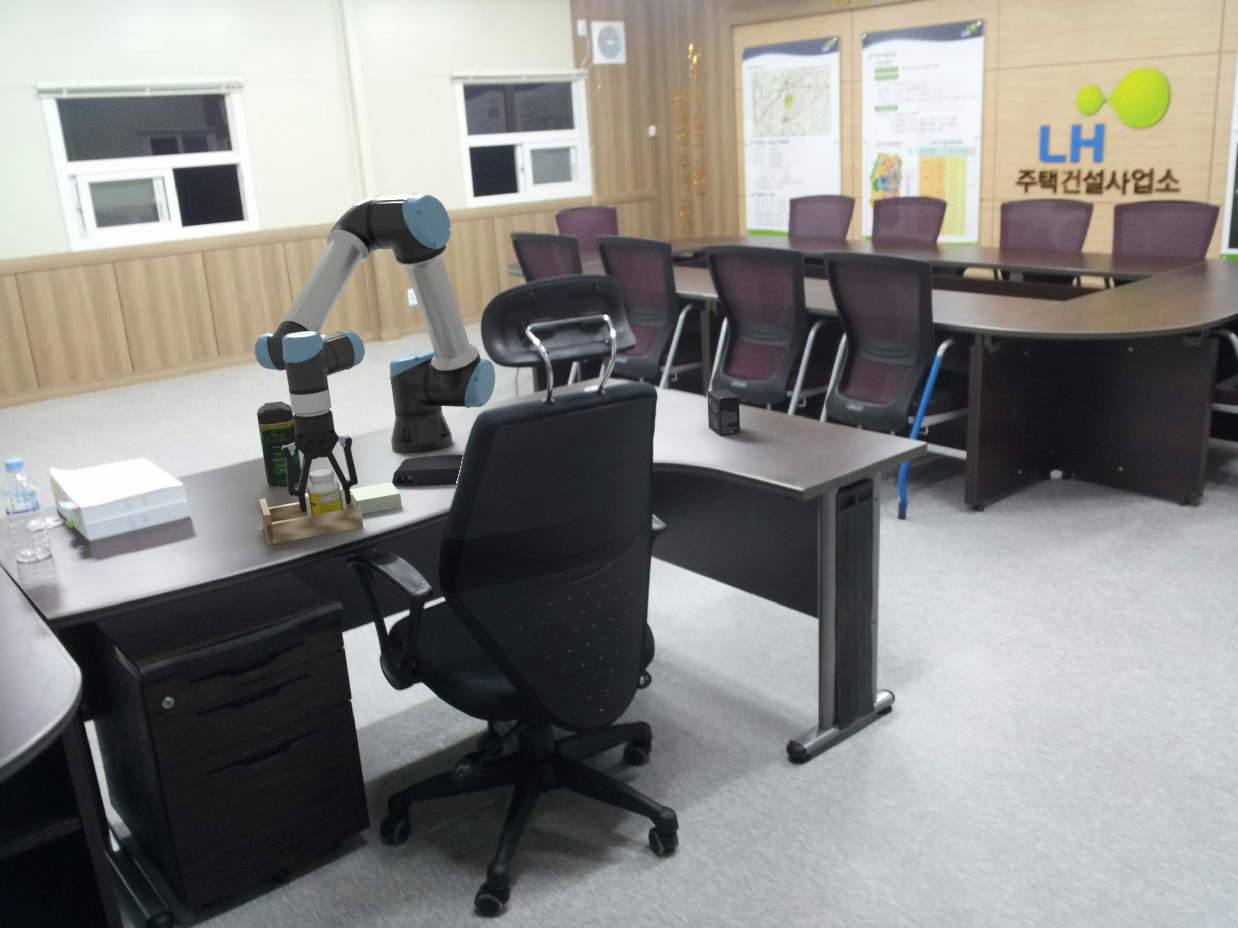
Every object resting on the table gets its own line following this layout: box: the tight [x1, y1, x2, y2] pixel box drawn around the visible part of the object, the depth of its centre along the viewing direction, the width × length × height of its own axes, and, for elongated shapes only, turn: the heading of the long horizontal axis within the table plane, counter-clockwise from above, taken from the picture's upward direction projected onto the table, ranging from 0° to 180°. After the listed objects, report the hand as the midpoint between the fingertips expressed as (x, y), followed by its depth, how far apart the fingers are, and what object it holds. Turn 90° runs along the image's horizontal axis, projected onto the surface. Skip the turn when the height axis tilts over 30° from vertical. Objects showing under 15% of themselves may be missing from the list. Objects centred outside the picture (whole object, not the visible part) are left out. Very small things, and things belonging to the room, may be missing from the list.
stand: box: [350, 481, 403, 515], centre depth 228 cm, size 9×9×3 cm
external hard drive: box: [391, 454, 464, 488], centre depth 245 cm, size 13×19×4 cm
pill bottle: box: [307, 468, 343, 515], centre depth 217 cm, size 6×6×11 cm
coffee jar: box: [256, 401, 302, 488], centre depth 247 cm, size 10×8×19 cm
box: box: [707, 389, 741, 436], centre depth 268 cm, size 9×6×10 cm, turn 13°
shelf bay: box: [258, 493, 364, 546], centre depth 217 cm, size 18×11×6 cm, turn 113°
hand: (328, 522), depth 218 cm, fingers closed on pill bottle, 6 cm apart
